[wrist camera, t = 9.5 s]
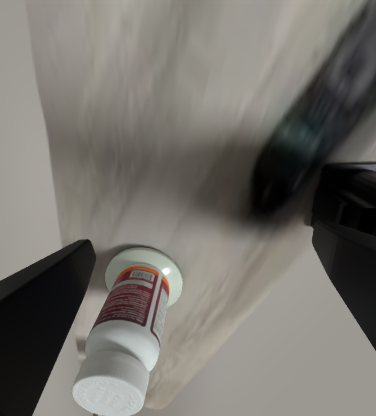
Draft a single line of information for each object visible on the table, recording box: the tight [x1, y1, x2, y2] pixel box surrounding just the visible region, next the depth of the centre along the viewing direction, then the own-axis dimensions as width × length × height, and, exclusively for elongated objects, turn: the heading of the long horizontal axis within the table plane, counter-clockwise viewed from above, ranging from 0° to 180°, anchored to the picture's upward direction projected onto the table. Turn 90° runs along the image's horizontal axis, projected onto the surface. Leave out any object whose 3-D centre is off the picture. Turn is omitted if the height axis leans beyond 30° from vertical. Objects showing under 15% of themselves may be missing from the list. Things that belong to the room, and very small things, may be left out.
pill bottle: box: [72, 264, 170, 416], centre depth 21 cm, size 6×6×11 cm
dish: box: [105, 247, 183, 307], centre depth 27 cm, size 9×9×1 cm
